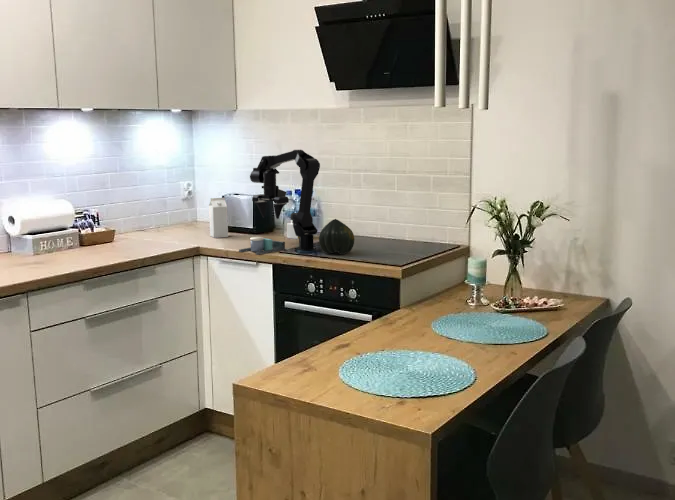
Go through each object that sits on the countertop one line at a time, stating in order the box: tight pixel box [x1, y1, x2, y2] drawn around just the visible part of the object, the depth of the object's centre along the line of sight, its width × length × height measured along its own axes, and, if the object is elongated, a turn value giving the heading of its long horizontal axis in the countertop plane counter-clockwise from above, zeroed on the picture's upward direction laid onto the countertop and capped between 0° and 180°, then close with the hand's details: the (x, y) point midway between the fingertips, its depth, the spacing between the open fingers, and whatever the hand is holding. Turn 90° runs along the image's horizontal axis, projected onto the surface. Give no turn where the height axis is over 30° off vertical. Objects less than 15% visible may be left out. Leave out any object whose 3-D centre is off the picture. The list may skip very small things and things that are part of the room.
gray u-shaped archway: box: [238, 239, 286, 256], centre depth 320 cm, size 16×12×4 cm
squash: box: [318, 218, 355, 255], centre depth 313 cm, size 14×15×15 cm
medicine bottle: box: [286, 212, 299, 240], centre depth 355 cm, size 7×7×12 cm
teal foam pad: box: [263, 237, 273, 251], centre depth 321 cm, size 2×9×5 cm, turn 48°
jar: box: [249, 236, 265, 252], centre depth 318 cm, size 6×6×5 cm
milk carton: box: [208, 197, 229, 239], centre depth 360 cm, size 7×7×19 cm
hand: (270, 218), depth 336 cm, fingers open, 9 cm apart
